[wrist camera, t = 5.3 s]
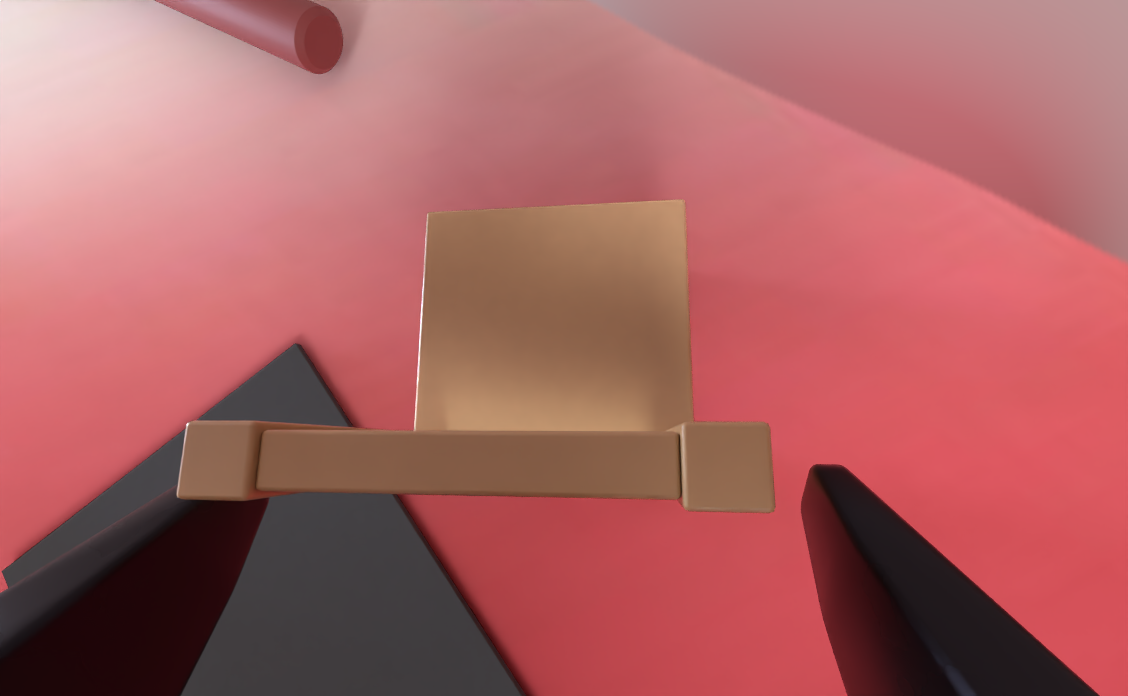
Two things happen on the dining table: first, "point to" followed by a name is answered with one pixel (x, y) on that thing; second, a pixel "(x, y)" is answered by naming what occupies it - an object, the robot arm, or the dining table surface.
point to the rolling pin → (274, 27)
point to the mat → (314, 576)
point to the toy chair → (526, 379)
